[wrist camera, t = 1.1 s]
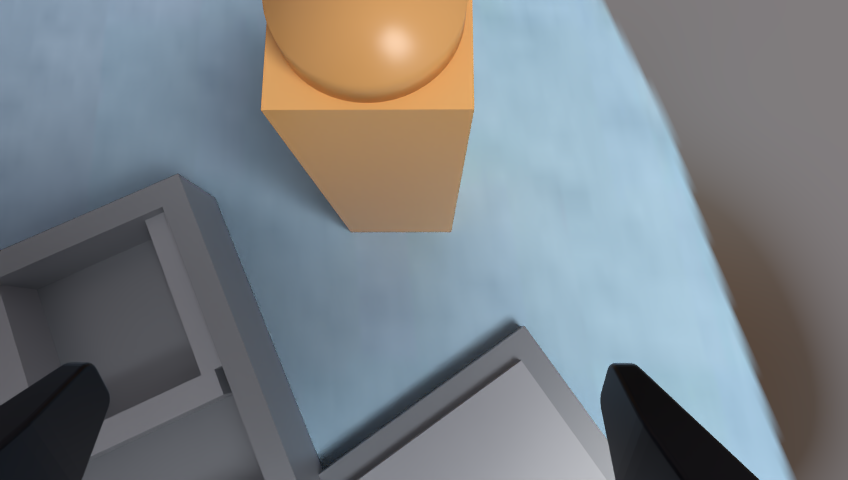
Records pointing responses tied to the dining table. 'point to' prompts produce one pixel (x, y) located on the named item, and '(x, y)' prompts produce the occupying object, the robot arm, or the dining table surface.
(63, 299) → the tray
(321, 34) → the post
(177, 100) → the dining table surface
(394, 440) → the lid
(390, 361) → the dining table surface
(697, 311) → the dining table surface
